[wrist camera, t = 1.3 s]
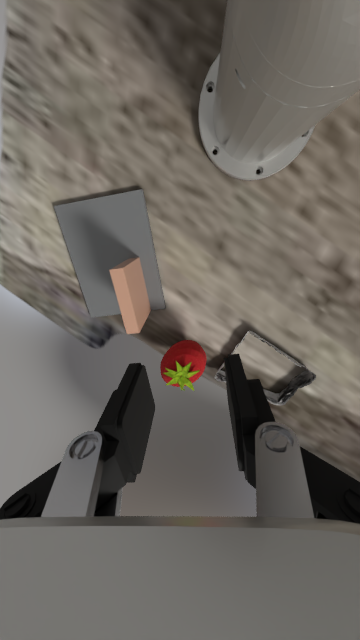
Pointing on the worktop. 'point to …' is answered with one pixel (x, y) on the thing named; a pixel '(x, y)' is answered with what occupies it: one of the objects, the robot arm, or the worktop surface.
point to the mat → (109, 246)
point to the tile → (131, 294)
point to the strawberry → (183, 364)
